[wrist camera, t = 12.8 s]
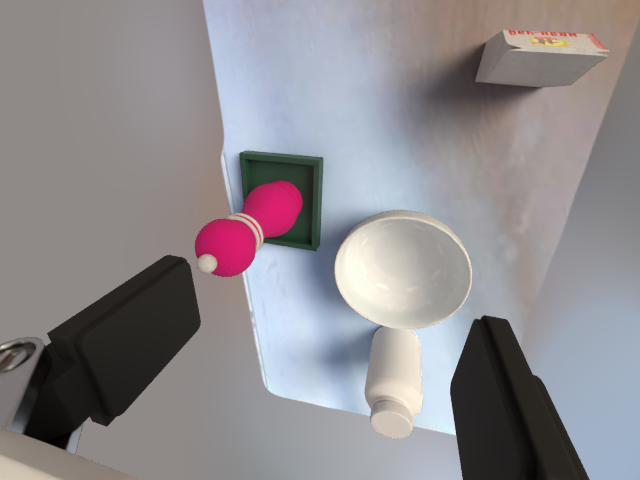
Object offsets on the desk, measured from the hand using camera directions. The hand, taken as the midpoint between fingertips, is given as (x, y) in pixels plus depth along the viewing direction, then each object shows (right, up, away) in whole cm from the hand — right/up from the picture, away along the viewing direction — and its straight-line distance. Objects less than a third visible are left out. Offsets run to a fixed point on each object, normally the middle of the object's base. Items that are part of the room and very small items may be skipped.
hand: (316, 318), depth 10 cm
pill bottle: (+13, -15, +41) cm, 45 cm away
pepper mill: (-5, +9, +34) cm, 36 cm away
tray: (-5, +9, +35) cm, 36 cm away
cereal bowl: (+12, +1, +33) cm, 36 cm away
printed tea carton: (+21, +21, +21) cm, 36 cm away
